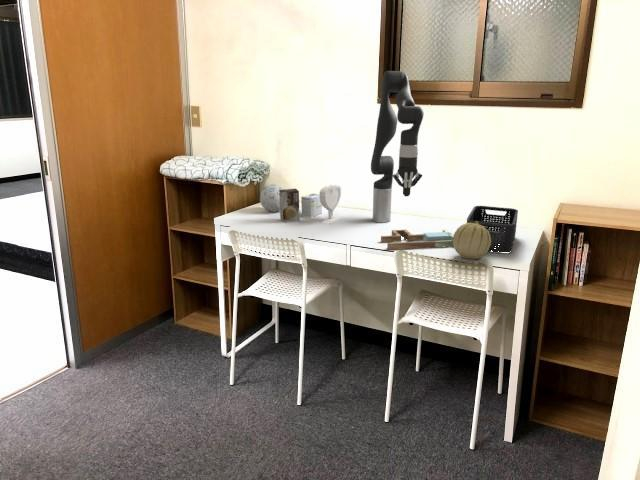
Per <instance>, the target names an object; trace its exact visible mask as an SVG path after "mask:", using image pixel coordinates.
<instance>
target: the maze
mask: <svg viewBox="0 0 640 480" xmlns="http://www.w3.org/2000/svg"><path fill="white" fill-rule="evenodd" d="M442 232H446V233H447V234H448V235H450V240H441V241H423V236H424V233H421V234H412V233H411V232H410V231H409V230H407V229H395V230H394V229H392V230H391V235H381V236H380V243H387V247H386V248H387V250H389V251H390V250H391V251H393V250H399V249H398V248H406V249H407V250H409V249H426V248H425V247H431V248H443V247H442V246H452V247H454V246H453V236H454V234H452V233H451V231H449V230H447V229H442ZM401 236H402V237H404V240H403V241H402V240H401ZM406 239H407V240H406ZM415 240H421V241H415ZM394 241H401V242H394ZM405 241H406V242H405ZM406 249H405V250H406Z"/></svg>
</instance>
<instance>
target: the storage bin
mask: <svg viewBox="0 0 640 480" xmlns="http://www.w3.org/2000/svg"><path fill="white" fill-rule="evenodd" d="M487 211H494V212H495V211H496V212H506V213H505V214H504V215H501V214H491V213H487ZM518 213H519V210H518V209H515V208H509V207H501V206H500V207H497V206H491V205H490V206H487V205H475V206H473V208H472V209H471V211H470V213H469V214H468V216H467V218H466V223H476V221H477V222H478V224H479V225H482V226H483V227H485V228H486V229H487V230H488V231H489V233H490V236H491V245H490V248H489V250H488V251H491V250H492V251H493V252H498V251H499V252H510V251H512V250H513V247H514V244H515V239H516V231H517V222H518V216H519V215H518ZM498 244H500V245H498ZM495 246H496V247H495ZM498 246H499V247H498ZM494 248H496V249H494ZM493 252H492V253H493ZM512 252H513V251H512Z"/></svg>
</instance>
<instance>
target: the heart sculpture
mask: <svg viewBox="0 0 640 480" xmlns="http://www.w3.org/2000/svg"><path fill="white" fill-rule="evenodd" d="M319 194H320V195H319V197H320V202H321V205H322V208H324V209H326V210H327V211H328V212H327V213H328V214H327V215H328V216H327V219H324V220H322V221H321V223H322V224H331V223H333V222H335V221H338V220H340V219H341V218H340V217H338V216H337V217H335V216H334V215H333V214H334V211H335V209H336V207H337V206H338V205H339V202H340V200H341V197H342V187H341V186H340V185H336V184H329V185H328V186H324V187H322V188H321V189H320V190H319Z"/></svg>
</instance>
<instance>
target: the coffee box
mask: <svg viewBox="0 0 640 480" xmlns="http://www.w3.org/2000/svg"><path fill="white" fill-rule="evenodd" d="M299 192H300V190H298V189H297V188H285V189H284V188H283V190H279V196H280V211H279V215H280V217H279V218H280V221H281V222H282V223H283V222H284V223H291V222H293V223H294V222H300V220H301V219H300V217H301V215H300V214H301V213H300V193H299Z"/></svg>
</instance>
